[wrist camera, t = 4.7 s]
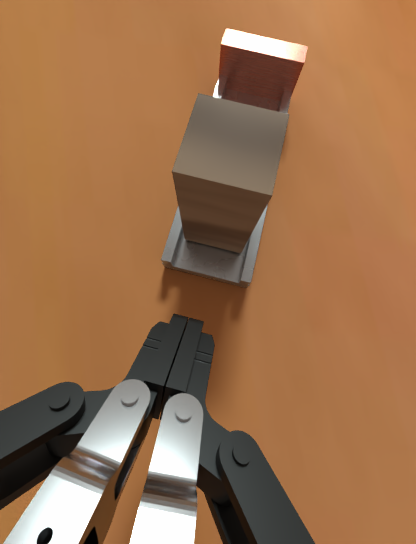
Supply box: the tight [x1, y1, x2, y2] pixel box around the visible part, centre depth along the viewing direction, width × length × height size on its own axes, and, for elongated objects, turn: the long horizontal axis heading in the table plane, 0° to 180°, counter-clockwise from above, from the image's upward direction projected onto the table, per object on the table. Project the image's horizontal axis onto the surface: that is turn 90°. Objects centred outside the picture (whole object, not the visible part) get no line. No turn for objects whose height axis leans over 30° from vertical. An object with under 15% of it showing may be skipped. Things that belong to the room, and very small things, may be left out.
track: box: [161, 28, 308, 288], centre depth 21 cm, size 22×8×5 cm, turn 166°
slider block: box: [172, 93, 289, 253], centre depth 16 cm, size 5×5×9 cm
